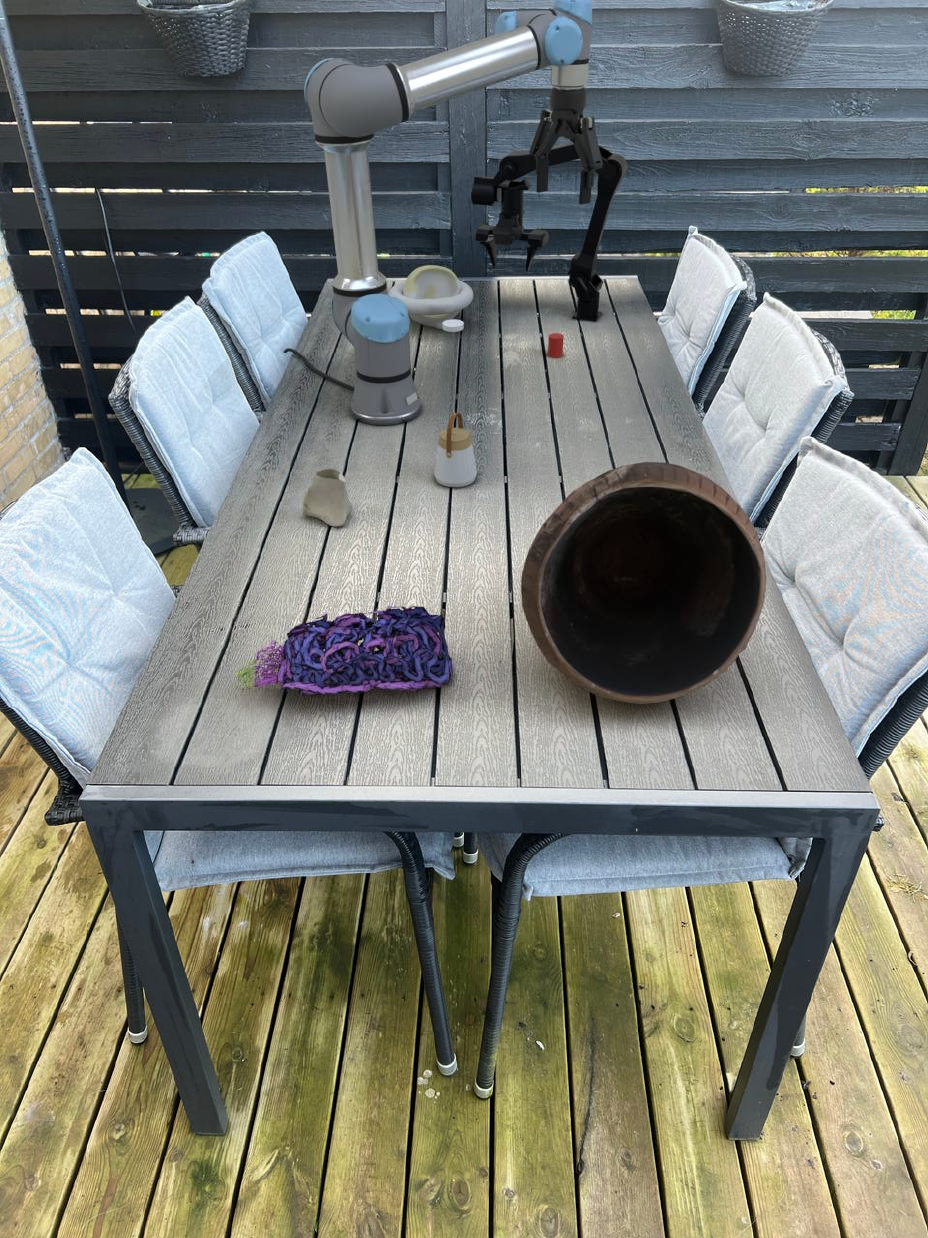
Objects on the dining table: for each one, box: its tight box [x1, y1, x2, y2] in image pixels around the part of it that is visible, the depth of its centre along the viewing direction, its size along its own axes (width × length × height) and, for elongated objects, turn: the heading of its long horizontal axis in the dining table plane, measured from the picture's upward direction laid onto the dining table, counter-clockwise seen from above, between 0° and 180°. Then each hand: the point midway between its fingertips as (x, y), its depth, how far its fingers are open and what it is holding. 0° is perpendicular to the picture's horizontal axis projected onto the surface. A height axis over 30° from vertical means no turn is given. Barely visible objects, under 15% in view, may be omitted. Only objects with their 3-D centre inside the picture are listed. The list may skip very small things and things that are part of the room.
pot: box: [520, 461, 767, 705], centre depth 132 cm, size 32×32×30 cm
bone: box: [301, 468, 353, 528], centre depth 164 cm, size 9×8×10 cm
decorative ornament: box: [235, 605, 454, 697], centre depth 129 cm, size 13×11×30 cm
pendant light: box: [433, 318, 478, 488], centre depth 169 cm, size 8×8×30 cm
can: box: [547, 332, 565, 359], centre depth 226 cm, size 4×4×5 cm
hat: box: [388, 264, 474, 330], centre depth 239 cm, size 25×22×15 cm
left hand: (562, 197), depth 204 cm, fingers open, 13 cm apart
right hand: (510, 269), depth 247 cm, fingers open, 9 cm apart
